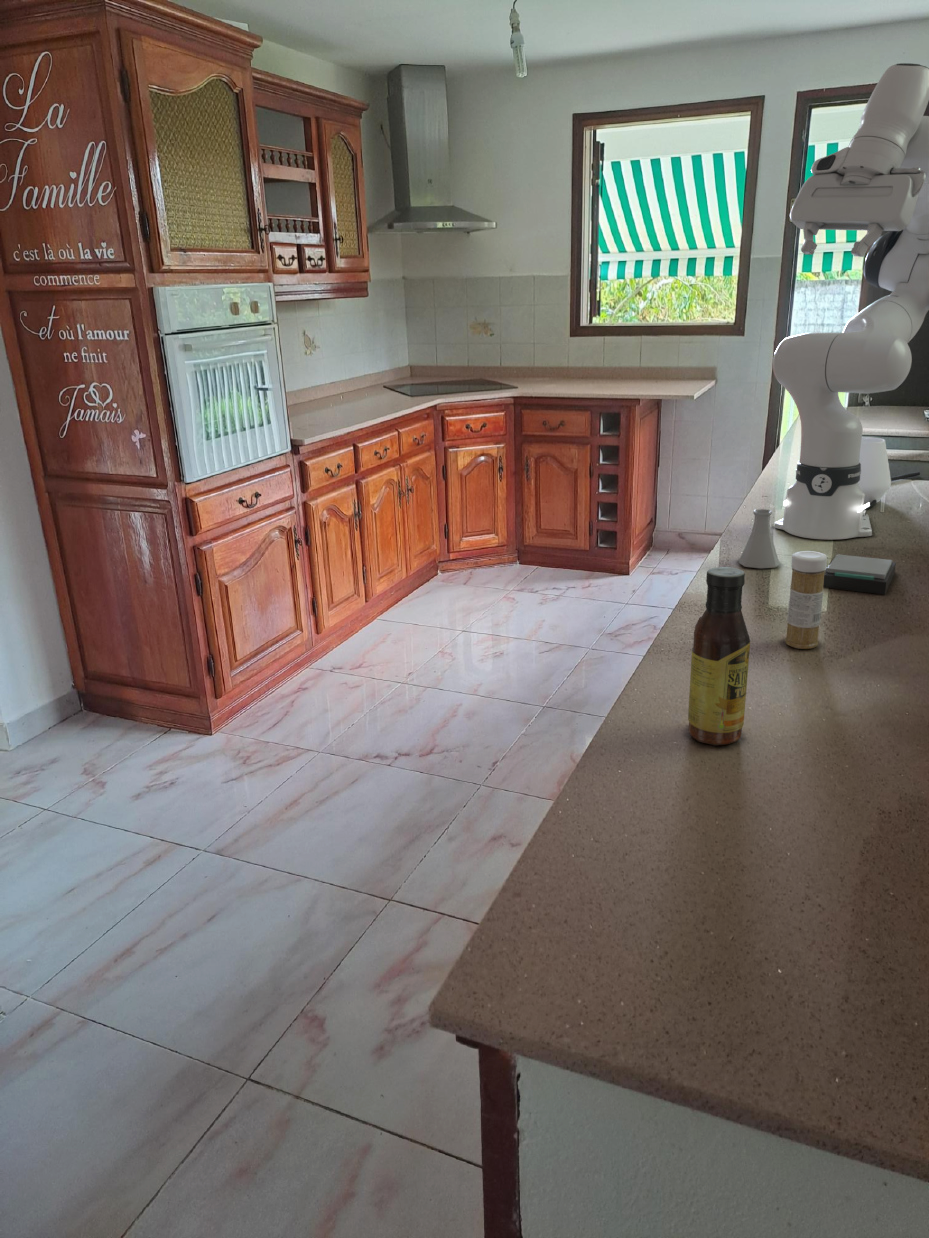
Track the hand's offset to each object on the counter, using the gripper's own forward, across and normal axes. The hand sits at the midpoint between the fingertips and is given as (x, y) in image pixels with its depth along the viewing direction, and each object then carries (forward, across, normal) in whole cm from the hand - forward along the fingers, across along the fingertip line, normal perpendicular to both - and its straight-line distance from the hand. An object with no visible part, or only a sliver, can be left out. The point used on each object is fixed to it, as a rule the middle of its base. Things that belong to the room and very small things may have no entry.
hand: (831, 254), depth 143 cm
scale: (+47, -17, -21) cm, 54 cm away
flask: (+50, 0, -18) cm, 53 cm away
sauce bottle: (+72, -39, +35) cm, 89 cm away
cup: (+27, +17, -69) cm, 76 cm away
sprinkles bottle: (+60, -28, +7) cm, 66 cm away
